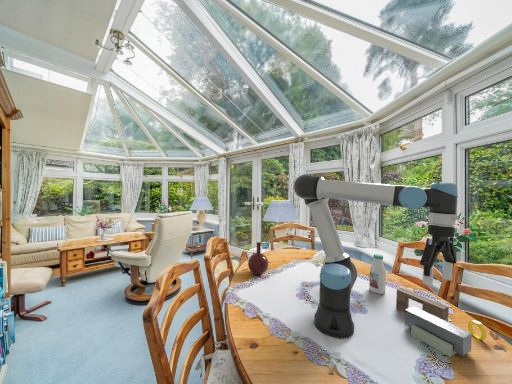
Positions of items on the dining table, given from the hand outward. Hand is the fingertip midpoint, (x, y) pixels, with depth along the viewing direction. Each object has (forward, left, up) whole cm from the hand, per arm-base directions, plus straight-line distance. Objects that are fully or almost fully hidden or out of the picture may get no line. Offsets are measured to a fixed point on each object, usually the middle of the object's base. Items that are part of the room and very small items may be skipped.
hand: (437, 281), depth 79 cm
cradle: (0, 0, -22) cm, 22 cm away
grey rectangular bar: (0, 0, -21) cm, 21 cm away
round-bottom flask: (-34, +81, -22) cm, 90 cm away
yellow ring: (+18, -5, -22) cm, 29 cm away
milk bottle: (+17, +35, -22) cm, 45 cm away
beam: (+11, +11, -22) cm, 27 cm away
